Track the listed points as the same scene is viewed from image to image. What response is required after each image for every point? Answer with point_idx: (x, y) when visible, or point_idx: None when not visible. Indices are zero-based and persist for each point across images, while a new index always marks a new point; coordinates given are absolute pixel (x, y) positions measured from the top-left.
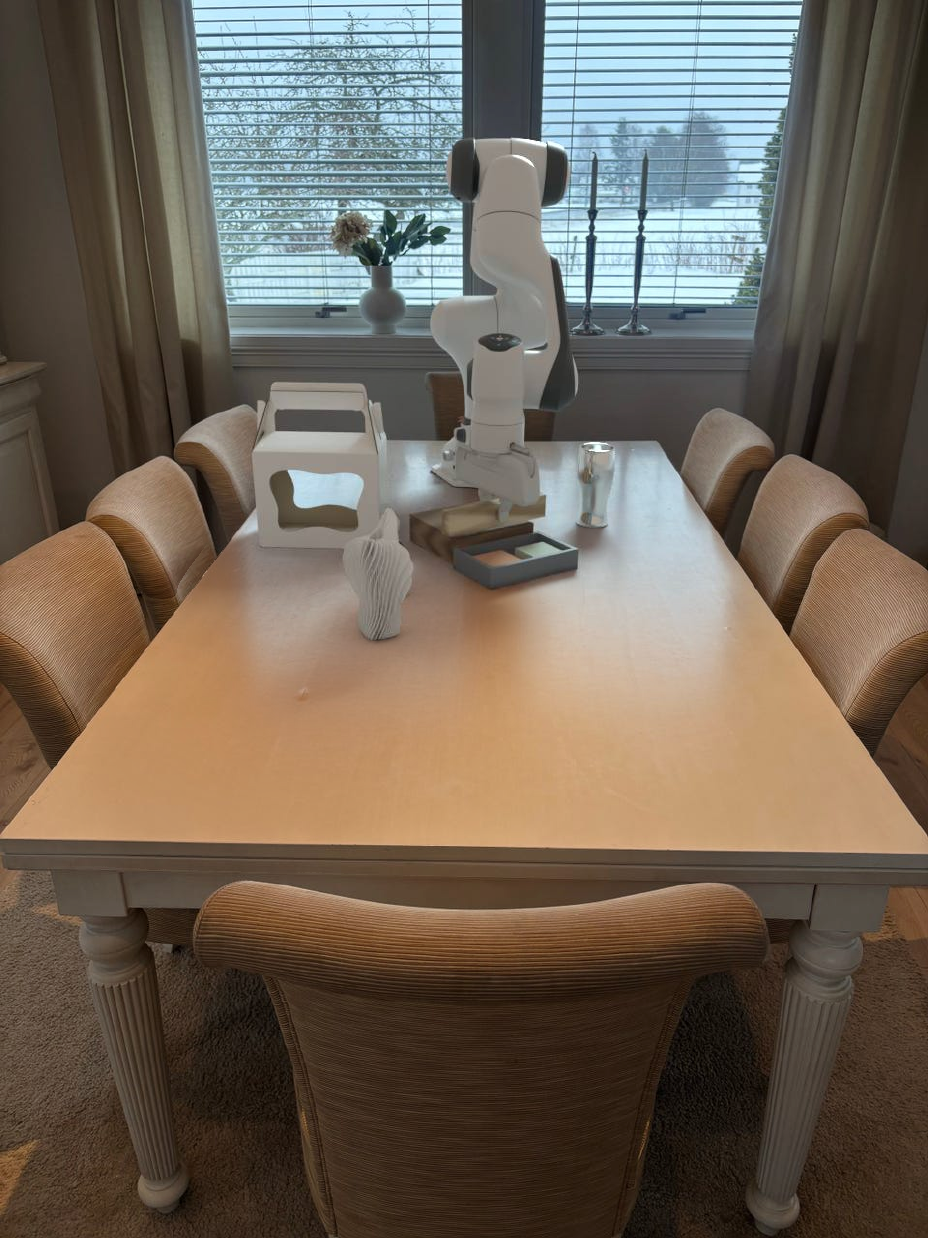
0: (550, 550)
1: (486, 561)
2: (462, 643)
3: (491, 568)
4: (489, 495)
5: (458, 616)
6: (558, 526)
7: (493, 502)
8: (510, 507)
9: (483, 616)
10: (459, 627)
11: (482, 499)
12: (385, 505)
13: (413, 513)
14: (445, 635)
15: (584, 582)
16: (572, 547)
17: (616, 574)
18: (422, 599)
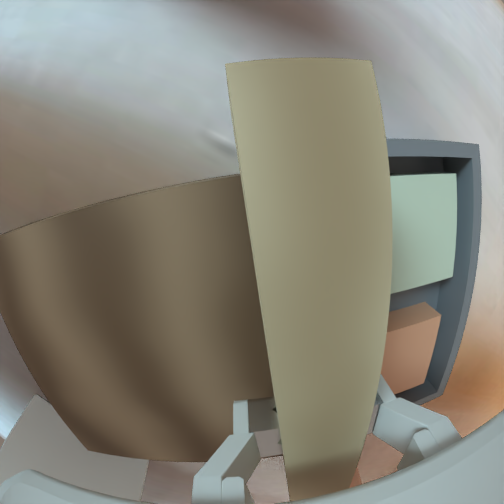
0: (434, 204)
1: (394, 388)
2: (474, 410)
3: (440, 394)
4: (232, 470)
5: (441, 413)
6: (114, 12)
7: (325, 462)
8: (418, 408)
9: (462, 390)
10: (456, 413)
11: (248, 479)
12: (50, 453)
13: (83, 444)
14: (455, 423)
15: (489, 189)
16: (468, 151)
17: (481, 101)
18: (378, 445)
